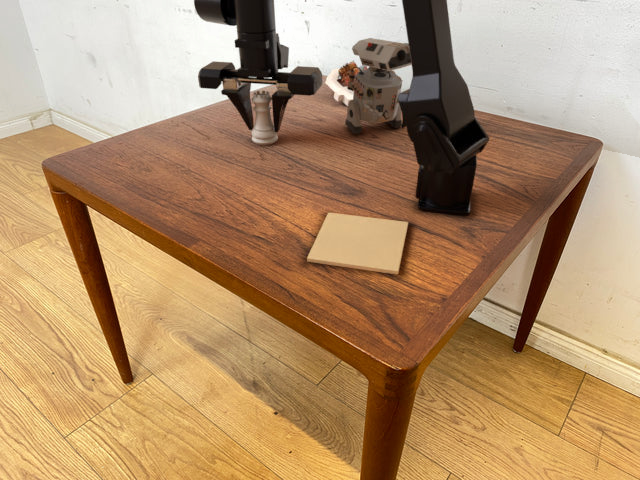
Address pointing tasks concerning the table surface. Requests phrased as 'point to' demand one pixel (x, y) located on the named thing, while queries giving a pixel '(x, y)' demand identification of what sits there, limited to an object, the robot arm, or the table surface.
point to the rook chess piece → (263, 120)
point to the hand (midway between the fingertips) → (264, 130)
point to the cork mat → (360, 243)
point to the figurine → (376, 83)
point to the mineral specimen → (342, 82)
